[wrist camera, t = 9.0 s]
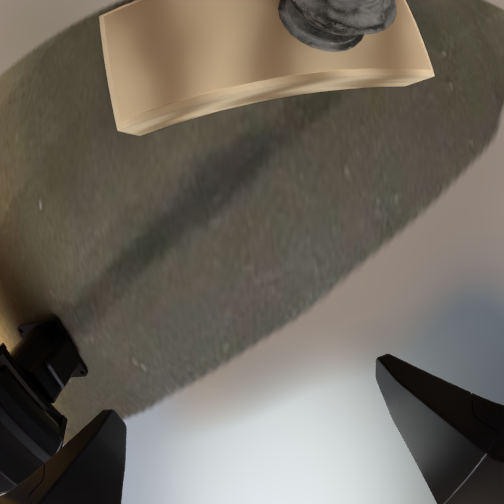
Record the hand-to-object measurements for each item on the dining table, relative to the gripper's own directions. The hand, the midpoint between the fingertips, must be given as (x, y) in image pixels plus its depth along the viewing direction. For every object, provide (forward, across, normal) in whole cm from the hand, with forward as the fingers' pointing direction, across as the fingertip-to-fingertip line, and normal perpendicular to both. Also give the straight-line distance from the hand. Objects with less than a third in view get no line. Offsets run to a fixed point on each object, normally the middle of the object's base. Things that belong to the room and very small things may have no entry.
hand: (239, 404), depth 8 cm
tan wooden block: (+13, -6, -15) cm, 21 cm away
